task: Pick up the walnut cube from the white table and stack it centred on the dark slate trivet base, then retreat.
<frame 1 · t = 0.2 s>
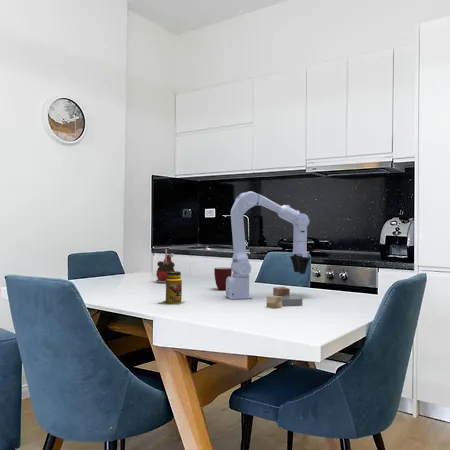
hand: (299, 272, 201), 10 cm above the table, fingers open, 7 cm apart
walnut cube: (281, 300, 189), on the table
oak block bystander: (274, 307, 173), on the table
cake: (165, 283, 241), on the table
condiment: (171, 303, 180), on the table
slate base: (288, 304, 180), on the table
mug: (221, 289, 218), on the table
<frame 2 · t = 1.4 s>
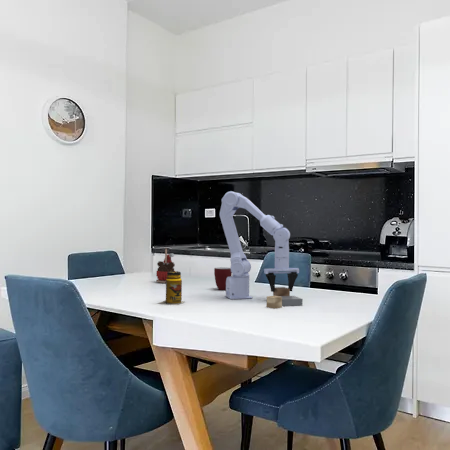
hand: (281, 291, 189), 4 cm above the table, fingers open, 7 cm apart
nothing on the table moved.
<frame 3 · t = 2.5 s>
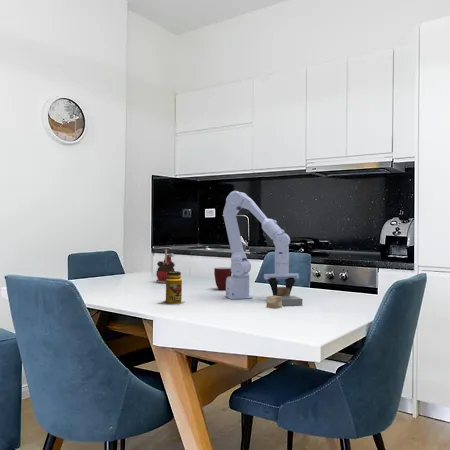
hand: (281, 296, 189), 1 cm above the table, fingers closed on walnut cube, 5 cm apart
walnut cube: (281, 300, 189), on the table, touching gripper
everything else where it was.
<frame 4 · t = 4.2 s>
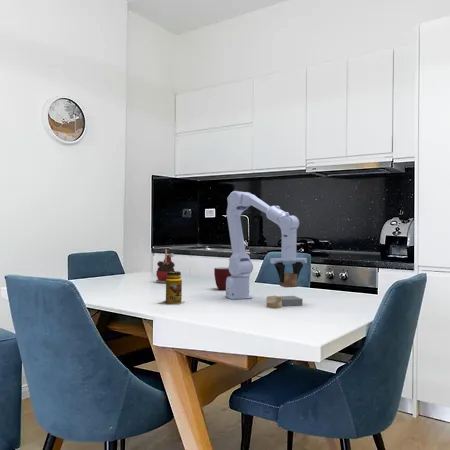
hand: (288, 282, 180), 8 cm above the table, fingers closed on walnut cube, 5 cm apart
walnut cube: (288, 286, 180), point 7 cm above the table, touching gripper
everything else where it was.
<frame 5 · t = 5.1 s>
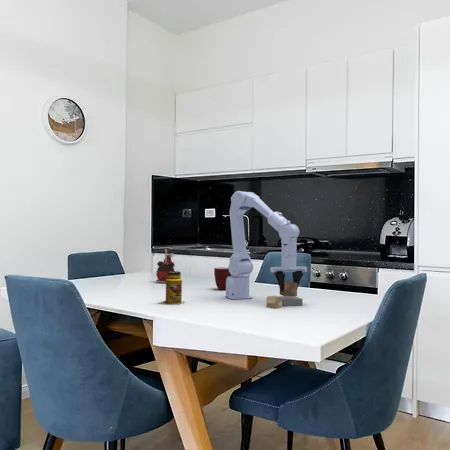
hand: (288, 290, 180), 5 cm above the table, fingers closed on walnut cube, 5 cm apart
walnut cube: (288, 295, 180), point 3 cm above the table, touching gripper
everything else where it was.
when the fingers open (5 cm above the table, at t = 5.7 s): walnut cube stays where it is, resting on slate base.
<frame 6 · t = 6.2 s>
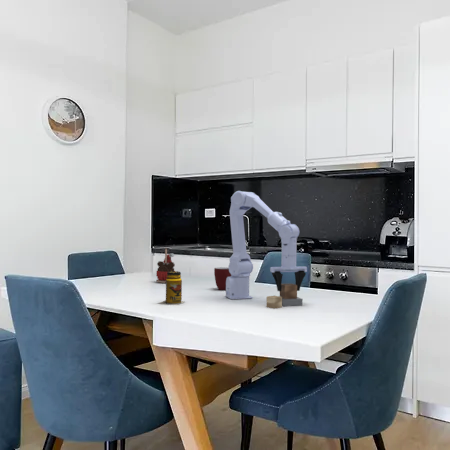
hand: (288, 290, 180), 5 cm above the table, fingers open, 7 cm apart
walnut cube: (288, 297, 180), point 2 cm above the table, touching slate base
everything else where it was.
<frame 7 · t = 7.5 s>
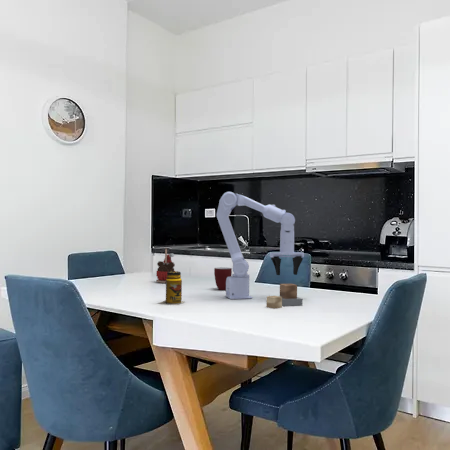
hand: (286, 274, 193), 10 cm above the table, fingers open, 7 cm apart
nothing on the table moved.
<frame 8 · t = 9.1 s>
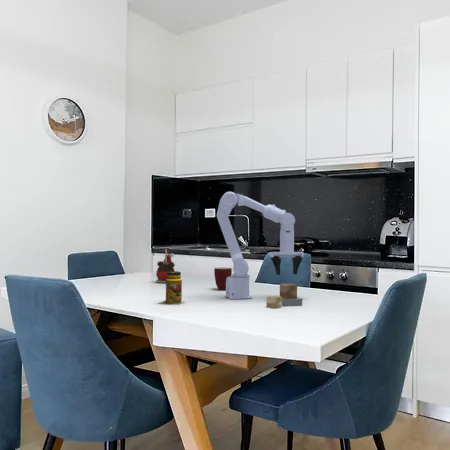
hand: (286, 274, 194), 10 cm above the table, fingers open, 7 cm apart
nothing on the table moved.
at the end: walnut cube 0.2 cm off-centre on the slate base, point 2.5 cm above the slate base's base; walnut cube tilted 0°; the gripper is holding nothing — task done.
